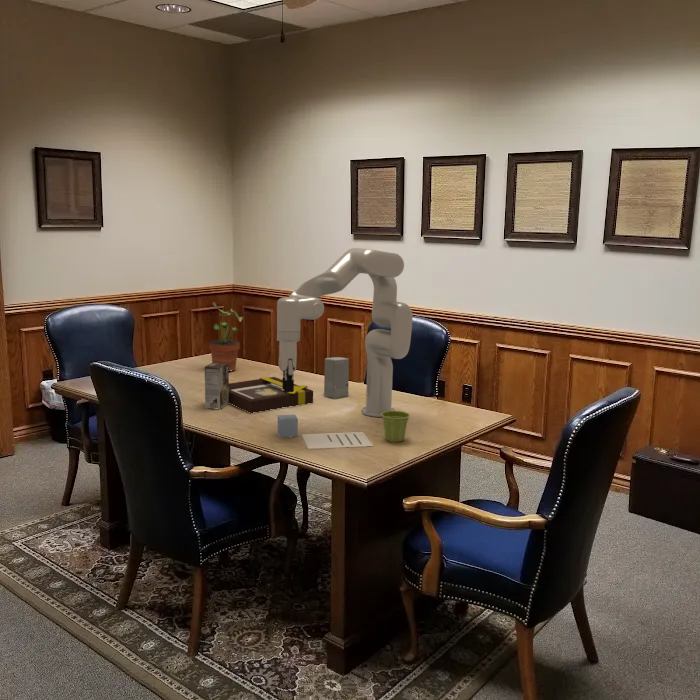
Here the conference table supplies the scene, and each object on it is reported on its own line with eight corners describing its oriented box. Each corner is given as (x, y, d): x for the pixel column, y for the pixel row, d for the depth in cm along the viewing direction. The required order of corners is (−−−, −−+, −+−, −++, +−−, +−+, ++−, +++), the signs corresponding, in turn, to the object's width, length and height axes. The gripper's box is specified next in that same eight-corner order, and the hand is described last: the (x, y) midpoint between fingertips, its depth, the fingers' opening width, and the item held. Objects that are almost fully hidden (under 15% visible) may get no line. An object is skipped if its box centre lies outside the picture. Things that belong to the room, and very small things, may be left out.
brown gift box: (274, 373, 302) (315, 388, 279) (274, 389, 304) (315, 404, 281) (213, 382, 285) (252, 398, 262) (214, 398, 287) (252, 416, 263)
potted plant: (226, 375, 325) (226, 298, 318) (202, 371, 333) (201, 295, 326) (249, 370, 338) (249, 295, 331) (225, 365, 346) (225, 293, 339)
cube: (277, 432, 243) (277, 415, 242) (295, 431, 244) (295, 414, 243) (279, 437, 237) (279, 420, 236) (297, 436, 238) (297, 419, 237)
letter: (301, 435, 240) (301, 434, 240) (362, 432, 244) (362, 431, 244) (308, 449, 226) (308, 448, 226) (373, 446, 230) (373, 445, 230)
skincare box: (333, 399, 288) (334, 360, 285) (322, 395, 293) (323, 357, 290) (349, 396, 293) (350, 358, 290) (338, 392, 298) (339, 355, 296)
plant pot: (381, 434, 243) (382, 409, 241) (409, 436, 242) (410, 411, 240) (379, 443, 234) (380, 417, 232) (408, 444, 233) (409, 419, 231)
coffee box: (213, 402, 278) (213, 361, 275) (229, 403, 277) (229, 362, 274) (204, 408, 270) (203, 366, 267) (220, 409, 268) (220, 367, 265)
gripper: (274, 331, 242) (274, 385, 245) (279, 340, 226) (279, 396, 229) (296, 331, 243) (295, 384, 246) (303, 339, 227) (302, 396, 231)
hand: (288, 389), depth 238 cm, fingers open, 3 cm apart
